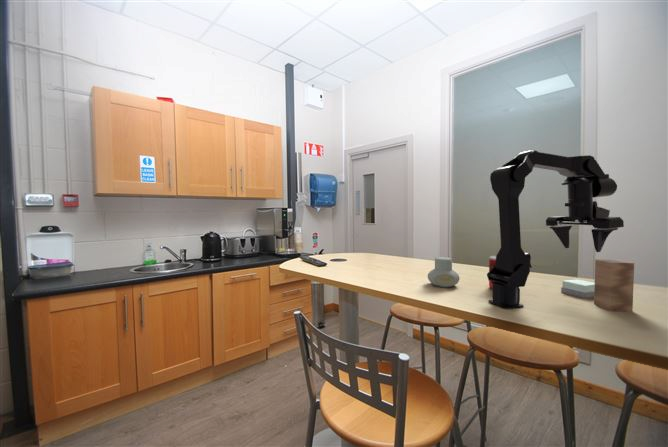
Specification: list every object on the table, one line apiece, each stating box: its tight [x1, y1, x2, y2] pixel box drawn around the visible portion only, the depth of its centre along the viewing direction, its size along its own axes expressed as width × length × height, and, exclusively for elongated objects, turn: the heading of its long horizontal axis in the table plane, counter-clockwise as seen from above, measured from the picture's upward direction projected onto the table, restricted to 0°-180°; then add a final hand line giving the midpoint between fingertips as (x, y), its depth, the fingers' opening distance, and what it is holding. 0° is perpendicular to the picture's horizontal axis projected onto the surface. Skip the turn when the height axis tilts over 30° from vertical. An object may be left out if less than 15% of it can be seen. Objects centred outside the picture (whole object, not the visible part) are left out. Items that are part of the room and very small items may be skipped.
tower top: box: [562, 278, 595, 293], centre depth 93 cm, size 7×7×2 cm
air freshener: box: [427, 256, 460, 288], centre depth 106 cm, size 11×8×10 cm
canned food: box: [488, 255, 509, 291], centre depth 100 cm, size 8×8×11 cm
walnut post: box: [593, 258, 635, 312], centre depth 80 cm, size 6×6×13 cm
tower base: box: [560, 287, 594, 299], centre depth 93 cm, size 7×7×2 cm
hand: (581, 249), depth 89 cm, fingers open, 9 cm apart
